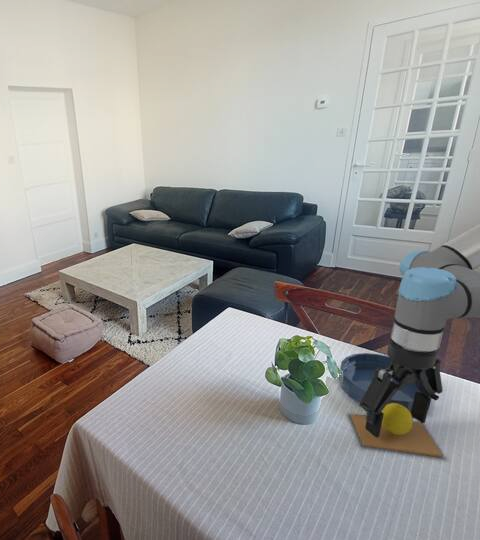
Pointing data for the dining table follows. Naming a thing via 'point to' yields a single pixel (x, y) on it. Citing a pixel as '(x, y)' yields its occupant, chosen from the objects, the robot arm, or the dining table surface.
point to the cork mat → (398, 438)
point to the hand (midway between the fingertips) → (394, 425)
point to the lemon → (396, 419)
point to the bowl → (371, 378)
